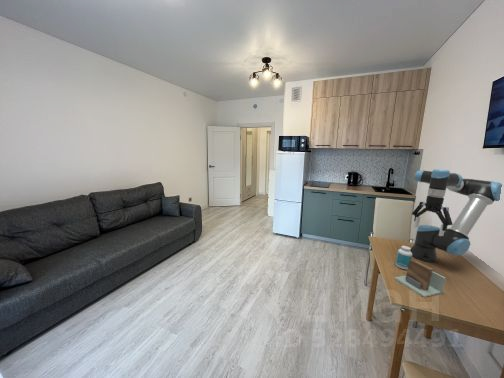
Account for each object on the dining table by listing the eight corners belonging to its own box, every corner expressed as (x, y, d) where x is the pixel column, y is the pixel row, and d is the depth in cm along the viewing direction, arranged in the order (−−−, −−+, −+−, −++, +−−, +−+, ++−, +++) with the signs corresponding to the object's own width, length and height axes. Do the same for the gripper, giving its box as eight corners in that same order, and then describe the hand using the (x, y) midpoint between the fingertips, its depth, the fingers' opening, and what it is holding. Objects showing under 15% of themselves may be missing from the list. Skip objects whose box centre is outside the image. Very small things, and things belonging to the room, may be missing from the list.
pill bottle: (411, 271, 131) (415, 250, 129) (398, 269, 132) (402, 249, 130) (405, 264, 138) (409, 245, 136) (393, 263, 140) (396, 244, 137)
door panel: (409, 278, 121) (413, 259, 119) (428, 289, 111) (433, 268, 109) (405, 279, 120) (409, 259, 118) (424, 290, 110) (429, 269, 108)
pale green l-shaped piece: (411, 275, 126) (414, 261, 124) (442, 293, 111) (446, 277, 109) (394, 278, 121) (397, 264, 120) (423, 297, 106) (427, 281, 105)
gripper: (409, 191, 132) (403, 224, 136) (457, 201, 109) (448, 240, 113) (417, 191, 134) (411, 223, 138) (466, 201, 111) (457, 239, 115)
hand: (427, 231), depth 125 cm, fingers open, 13 cm apart
